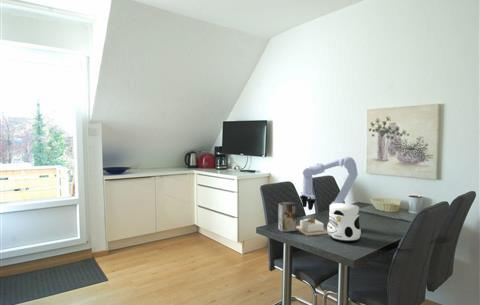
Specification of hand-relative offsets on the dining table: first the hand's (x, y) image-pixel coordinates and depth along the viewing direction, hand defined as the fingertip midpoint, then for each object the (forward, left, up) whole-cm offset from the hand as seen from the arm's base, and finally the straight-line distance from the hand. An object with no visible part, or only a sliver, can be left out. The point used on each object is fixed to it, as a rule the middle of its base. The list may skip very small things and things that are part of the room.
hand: (307, 208), depth 194 cm
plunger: (+3, +11, -9) cm, 15 cm away
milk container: (-6, +30, -11) cm, 32 cm away
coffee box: (+17, +7, -11) cm, 21 cm away
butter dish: (+3, +11, -10) cm, 15 cm away
